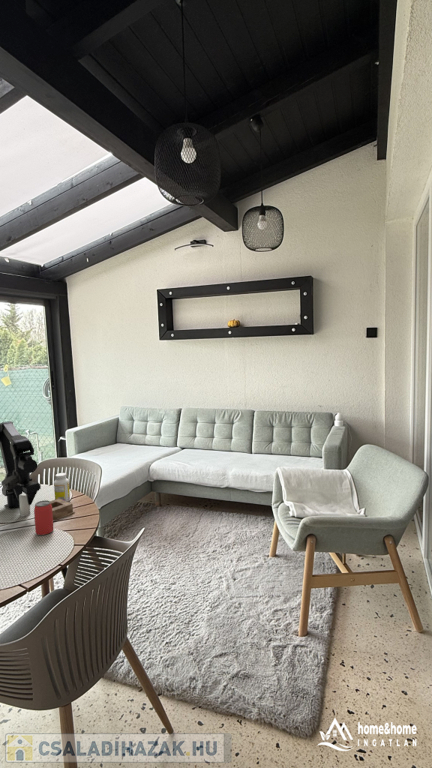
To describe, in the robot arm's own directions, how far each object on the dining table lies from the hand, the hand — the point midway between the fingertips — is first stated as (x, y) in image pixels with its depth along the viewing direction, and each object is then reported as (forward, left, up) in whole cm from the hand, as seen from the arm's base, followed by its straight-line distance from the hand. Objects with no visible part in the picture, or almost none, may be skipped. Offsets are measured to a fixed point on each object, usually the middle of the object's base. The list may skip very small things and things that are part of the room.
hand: (24, 502), depth 181 cm
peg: (0, 0, -5) cm, 5 cm away
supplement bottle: (-1, +19, -6) cm, 20 cm away
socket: (+10, +8, -5) cm, 14 cm away
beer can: (+23, -4, -6) cm, 24 cm away
